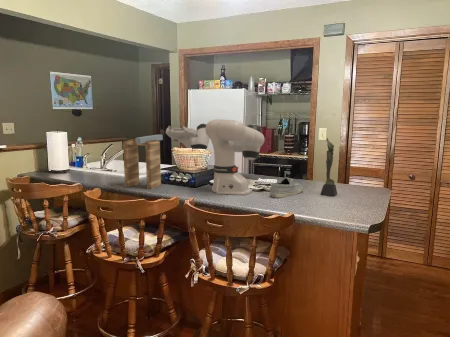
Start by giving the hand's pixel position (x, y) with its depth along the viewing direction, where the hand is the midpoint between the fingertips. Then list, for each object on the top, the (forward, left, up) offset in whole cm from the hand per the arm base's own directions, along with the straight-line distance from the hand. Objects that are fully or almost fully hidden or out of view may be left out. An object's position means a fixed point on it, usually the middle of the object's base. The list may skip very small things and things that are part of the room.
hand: (176, 127), depth 228 cm
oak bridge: (+7, +28, -33) cm, 44 cm away
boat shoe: (-75, +15, -33) cm, 84 cm away
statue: (-96, +8, -33) cm, 102 cm away
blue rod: (+3, +25, -7) cm, 27 cm away
